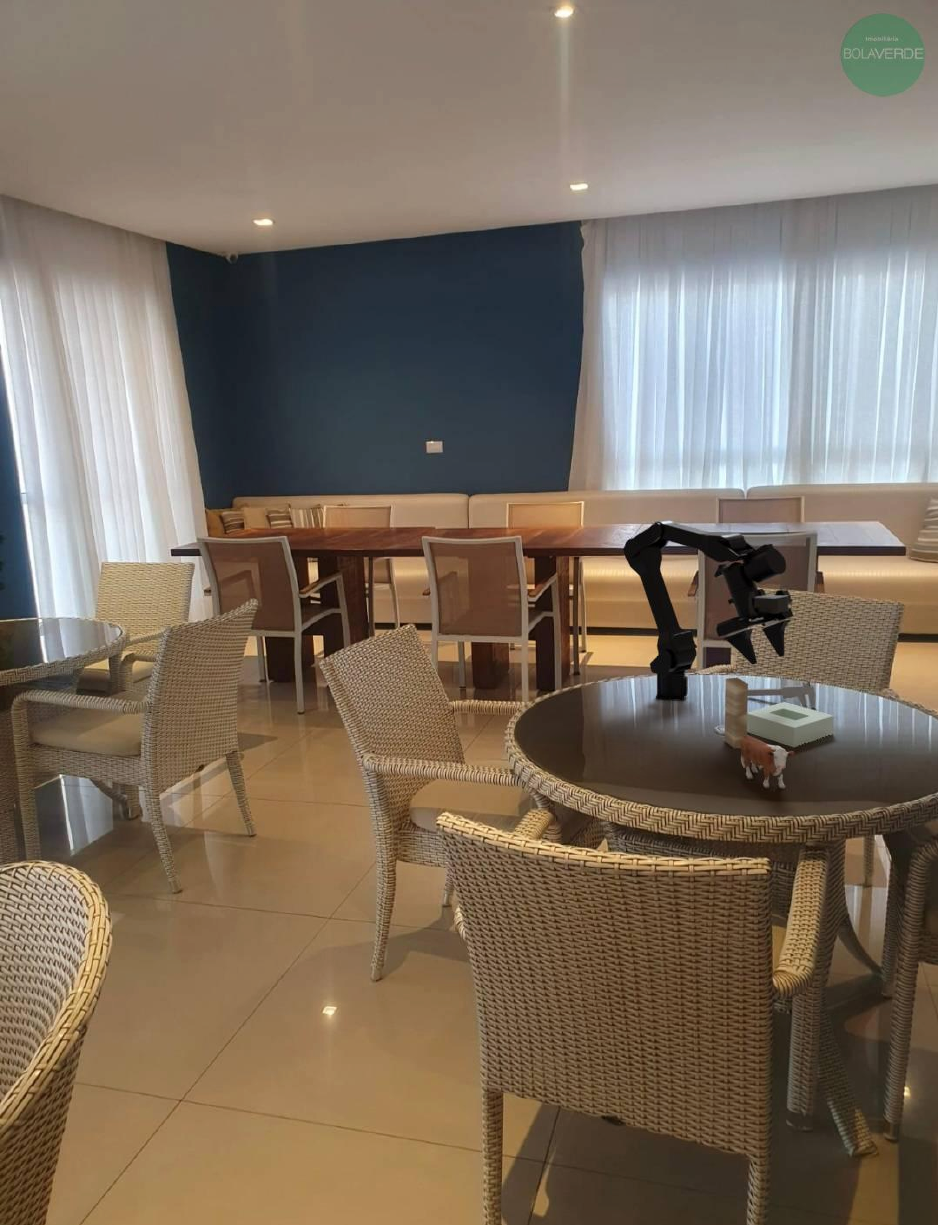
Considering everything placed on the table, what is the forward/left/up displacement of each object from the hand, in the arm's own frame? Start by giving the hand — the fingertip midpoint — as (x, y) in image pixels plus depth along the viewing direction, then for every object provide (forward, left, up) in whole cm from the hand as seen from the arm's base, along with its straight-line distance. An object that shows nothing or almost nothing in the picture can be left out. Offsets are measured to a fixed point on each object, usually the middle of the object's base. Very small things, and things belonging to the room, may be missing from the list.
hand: (768, 660), depth 182 cm
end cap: (+4, -6, -14) cm, 15 cm away
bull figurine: (0, -34, -14) cm, 36 cm away
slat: (-6, -15, -14) cm, 21 cm away
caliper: (0, +16, -14) cm, 22 cm away
